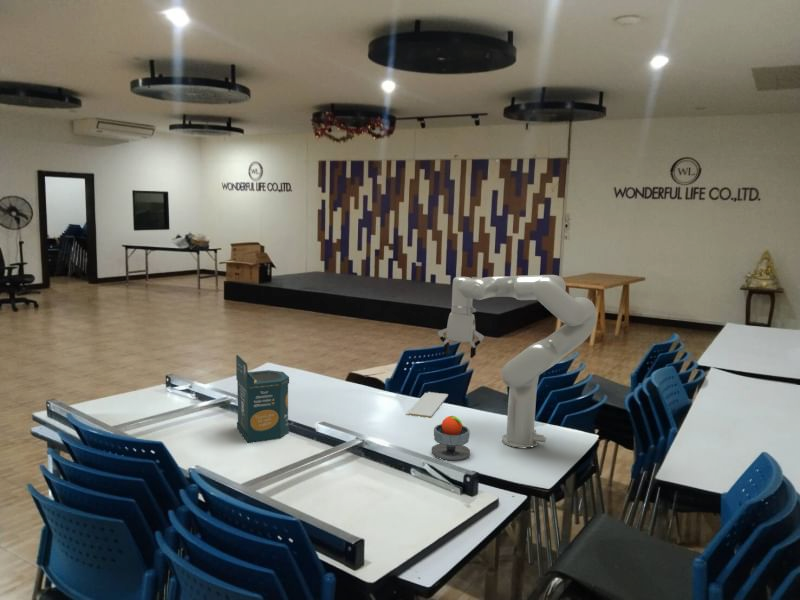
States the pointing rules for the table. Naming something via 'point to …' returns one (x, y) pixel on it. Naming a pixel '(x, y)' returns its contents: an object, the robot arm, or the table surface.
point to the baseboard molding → (427, 404)
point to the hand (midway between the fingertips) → (459, 355)
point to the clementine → (452, 425)
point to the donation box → (261, 403)
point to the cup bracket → (451, 445)
